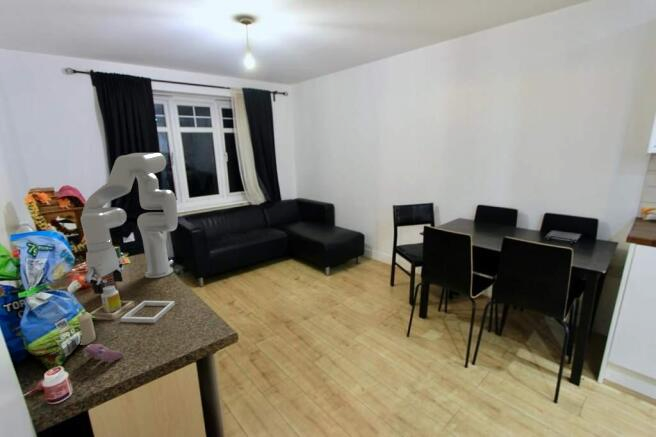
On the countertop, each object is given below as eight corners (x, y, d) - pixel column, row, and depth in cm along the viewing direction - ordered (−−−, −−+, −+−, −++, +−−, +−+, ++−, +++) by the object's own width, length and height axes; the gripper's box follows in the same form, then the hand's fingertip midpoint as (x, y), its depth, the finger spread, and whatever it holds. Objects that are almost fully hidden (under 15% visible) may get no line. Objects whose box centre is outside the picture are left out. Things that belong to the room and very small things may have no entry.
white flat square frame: (144, 304, 125) (144, 300, 124) (175, 304, 123) (174, 301, 123) (121, 321, 112) (120, 318, 112) (154, 322, 111) (154, 319, 111)
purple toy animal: (91, 362, 93) (75, 350, 89) (103, 348, 96) (88, 336, 92) (113, 369, 90) (98, 357, 86) (125, 354, 93) (111, 342, 89)
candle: (84, 347, 98) (78, 319, 96) (70, 345, 99) (63, 317, 97) (100, 336, 103) (94, 310, 101) (86, 335, 104) (80, 308, 102)
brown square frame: (110, 304, 124) (110, 300, 124) (134, 305, 124) (134, 300, 123) (89, 318, 114) (88, 314, 114) (115, 319, 113) (114, 314, 113)
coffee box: (124, 269, 162) (120, 245, 159) (122, 271, 159) (117, 247, 156) (107, 271, 160) (102, 247, 157) (104, 273, 157) (99, 249, 154)
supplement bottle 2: (125, 307, 122) (120, 284, 120) (115, 315, 116) (110, 290, 114) (111, 308, 122) (106, 284, 120) (101, 315, 117) (96, 291, 114)
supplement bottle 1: (111, 296, 132) (106, 272, 129) (97, 296, 132) (92, 272, 129) (120, 290, 138) (116, 266, 135) (107, 290, 138) (103, 266, 135)
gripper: (108, 237, 122) (116, 277, 126) (69, 253, 105) (80, 298, 109) (126, 237, 121) (134, 277, 125) (89, 254, 104) (100, 298, 109)
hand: (109, 287), depth 117 cm, fingers open, 9 cm apart
